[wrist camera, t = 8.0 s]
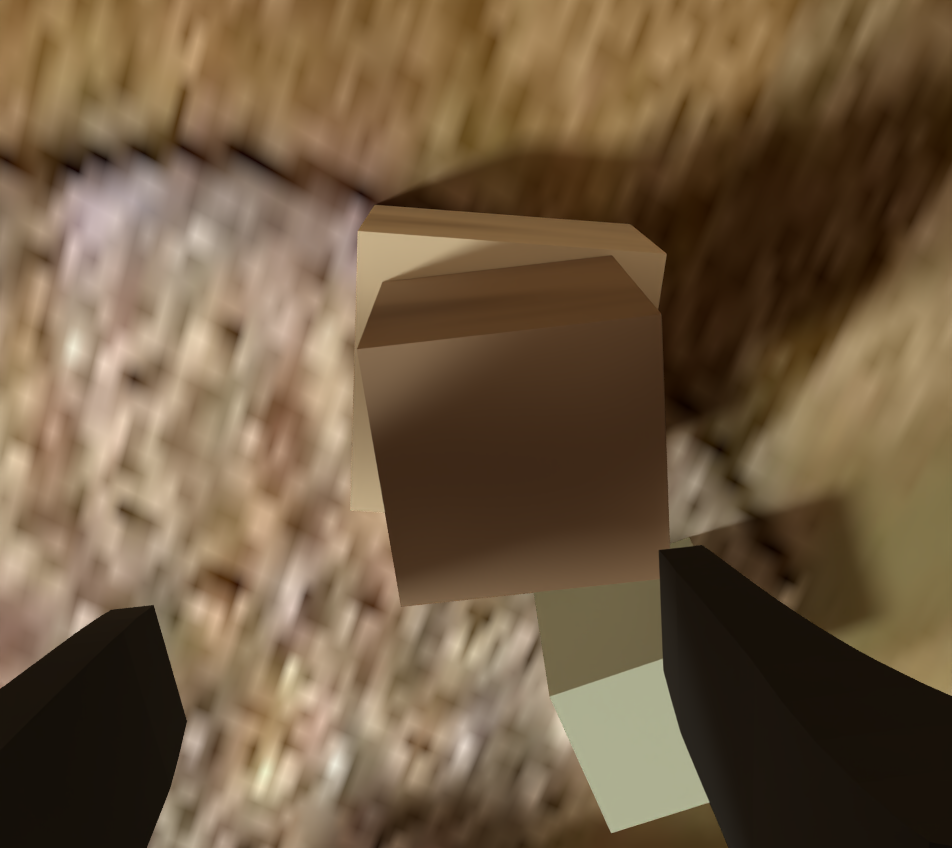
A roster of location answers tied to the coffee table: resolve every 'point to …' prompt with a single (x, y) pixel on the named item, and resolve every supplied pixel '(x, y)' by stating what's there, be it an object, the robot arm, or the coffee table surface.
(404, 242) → the maple base
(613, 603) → the sage cube
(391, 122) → the coffee table surface
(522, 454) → the walnut cube
